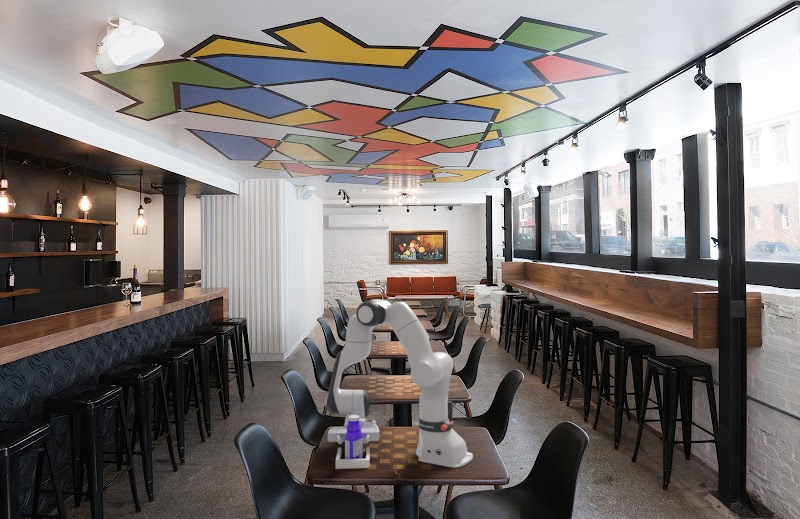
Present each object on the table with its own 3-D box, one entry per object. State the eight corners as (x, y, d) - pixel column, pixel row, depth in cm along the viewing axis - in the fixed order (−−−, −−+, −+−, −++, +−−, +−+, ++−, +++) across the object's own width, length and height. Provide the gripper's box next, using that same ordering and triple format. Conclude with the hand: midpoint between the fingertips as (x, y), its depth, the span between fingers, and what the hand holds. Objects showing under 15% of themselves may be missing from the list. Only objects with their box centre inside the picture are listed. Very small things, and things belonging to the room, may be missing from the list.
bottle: (353, 457, 187) (353, 412, 187) (365, 460, 184) (365, 414, 184) (342, 464, 181) (341, 417, 181) (354, 467, 178) (353, 420, 178)
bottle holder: (338, 455, 189) (338, 447, 189) (369, 454, 189) (369, 446, 189) (335, 468, 176) (335, 460, 176) (369, 467, 177) (369, 459, 177)
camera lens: (433, 437, 207) (432, 402, 207) (435, 430, 215) (435, 397, 215) (451, 438, 205) (451, 403, 205) (453, 431, 213) (453, 398, 213)
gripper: (328, 421, 195) (325, 434, 181) (379, 420, 196) (379, 432, 182) (328, 437, 195) (325, 450, 181) (379, 435, 196) (379, 449, 182)
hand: (352, 441), depth 181 cm, fingers open, 8 cm apart
